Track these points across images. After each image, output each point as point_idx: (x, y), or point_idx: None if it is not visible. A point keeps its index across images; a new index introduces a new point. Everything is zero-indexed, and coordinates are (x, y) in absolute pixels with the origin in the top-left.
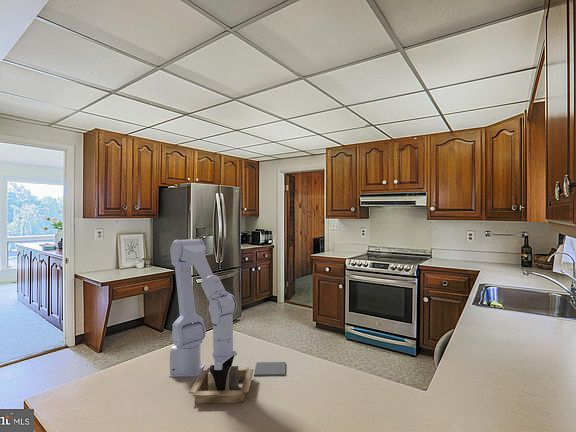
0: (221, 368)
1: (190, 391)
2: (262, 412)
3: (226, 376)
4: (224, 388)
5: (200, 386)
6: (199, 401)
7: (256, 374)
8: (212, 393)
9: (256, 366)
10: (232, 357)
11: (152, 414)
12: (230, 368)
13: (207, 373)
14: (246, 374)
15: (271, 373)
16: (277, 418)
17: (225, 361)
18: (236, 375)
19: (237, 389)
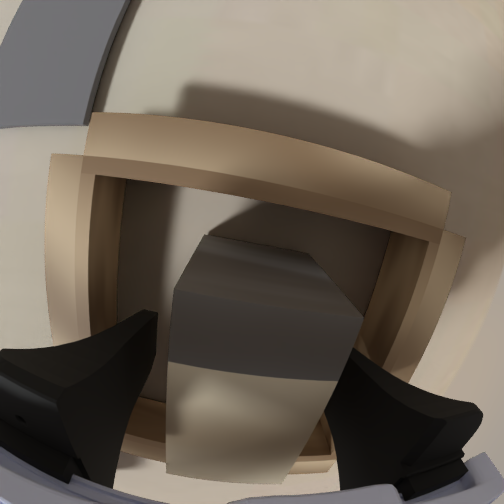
0: (489, 459)
1: (322, 470)
2: (475, 141)
3: (422, 390)
4: (352, 348)
5: None
6: None
7: (86, 106)
8: None
9: (5, 122)
10: (84, 397)
11: (330, 484)
12: (224, 373)
13: None
14: (176, 174)
15: (108, 18)
16: (500, 104)
17: (111, 421)
18: (312, 293)
19: (251, 243)
